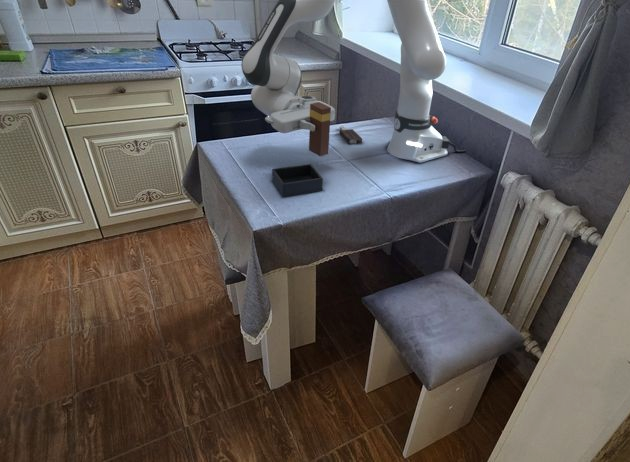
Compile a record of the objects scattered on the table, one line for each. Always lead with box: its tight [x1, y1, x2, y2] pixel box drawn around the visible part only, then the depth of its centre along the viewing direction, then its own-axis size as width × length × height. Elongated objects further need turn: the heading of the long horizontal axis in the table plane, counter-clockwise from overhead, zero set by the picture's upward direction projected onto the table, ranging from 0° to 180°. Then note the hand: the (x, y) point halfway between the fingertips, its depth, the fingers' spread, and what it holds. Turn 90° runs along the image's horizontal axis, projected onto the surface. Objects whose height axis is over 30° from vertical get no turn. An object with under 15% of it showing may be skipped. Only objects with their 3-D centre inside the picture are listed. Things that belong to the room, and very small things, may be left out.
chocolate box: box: [308, 102, 331, 157], centre depth 122 cm, size 3×5×14 cm, turn 47°
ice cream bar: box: [339, 125, 363, 145], centre depth 163 cm, size 5×2×15 cm
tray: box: [271, 163, 324, 198], centre depth 128 cm, size 12×10×4 cm
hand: (321, 126), depth 121 cm, fingers closed on chocolate box, 3 cm apart
